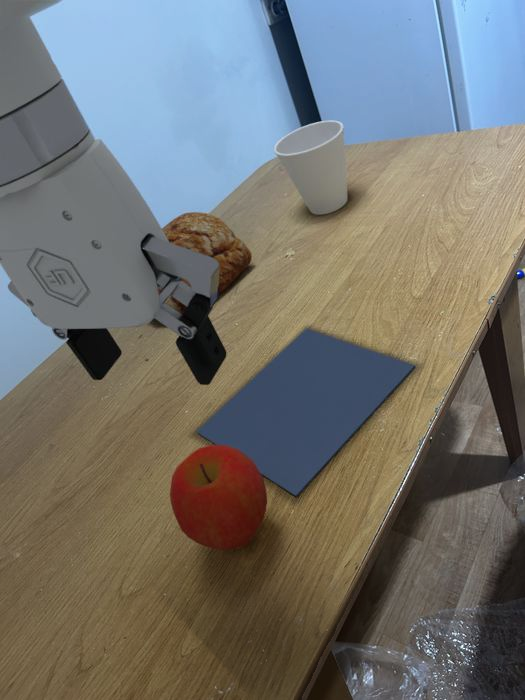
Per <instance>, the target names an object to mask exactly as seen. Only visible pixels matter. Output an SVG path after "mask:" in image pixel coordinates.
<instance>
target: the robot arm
mask: <svg viewBox="0 0 525 700" xmlns="http://www.w3.org/2000/svg"><path fill="white" fill-rule="evenodd" d="M62 1H63V0H0V266H1V267H2V268H3V271H4V272H5V273H6V276H7V277H8V278H9V280H10V281H9V283H8V284H7V288H8V290H9V292H10V293H11V294H12V295H13V296H15V297H16V298H17V299H18V300H19V301H21V302H22V303H23V304H24V305H26V306H27V308H29V309H30V311H31V314H32V315H33V316H34V317H35V318H37V320H39V321H40V323H41V324H43V325H44V326H46V327H49V328H51V332H52V333H53V335H54V336H55V337H56V338H58V339H59V340H63V341H66V342H65V343H66V345H67V346H68V348H69V349H70V350H71V352H72V353H73V354H74V356H75V357H76V358H77V359H78V361H79V363H80V364H81V366H82V367H83V368H84V369H85V371H86V372H87V373H88V375H89V377H90V378H91V379H92V380H93V381H102V380H103V379H104V378H105V377H106V376H107V374H108V373H109V371H110V370H111V369H112V368H113V367H114V365H115V364H116V363H117V361H118V360H119V359H120V357H121V356H122V354H123V352H122V349H121V348H120V346H119V345H118V343H117V342H116V340H115V339H114V337H113V336H112V334H111V333H110V330H108V329H130V328H141V327H144V326H147V325H148V324H150V323H151V322H152V321H153V320H154V319H155V320H156V321H157V322H159V323H160V324H162V325H164V326H165V327H166V328H168V329H169V330H171V331H172V332H173V333H175V334H176V335H178V337H177V338H176V340H175V345H176V347H177V350H179V352H180V354H181V357H182V358H183V359H184V361H185V363H186V364H187V366H188V368H189V370H190V371H191V373H192V375H193V377H194V378H195V380H196V382H197V383H198V384H199V385H200V386H208V385H211V383H212V381H213V380H214V378H215V376H216V375H217V373H218V371H219V369H220V368H221V366H222V365H223V363H224V361H225V360H226V358H227V350H226V348H225V346H224V344H223V342H222V339H220V336H219V334H218V332H217V330H216V328H215V327H214V324H213V323H212V322H213V321H212V320H211V319H210V317H209V315H210V314H211V312H212V310H213V308H214V305H215V303H216V302H217V300H218V298H219V296H220V293H221V292H220V291H219V288H218V286H219V270H220V266H219V263H218V261H217V260H216V259H214V258H212V257H210V256H207V255H204V254H201V253H198V252H195V251H192V250H189V249H186V248H184V247H181V246H178V245H175V244H172V243H169V241H168V239H167V237H166V236H165V234H164V232H163V230H162V228H163V227H161V224H160V223H159V221H158V220H157V217H156V216H155V214H154V213H153V211H152V210H151V207H150V206H149V204H148V203H147V201H146V199H144V197H143V195H142V194H141V192H140V191H139V189H138V187H137V186H136V185H135V183H134V182H133V180H132V179H131V177H130V176H129V174H128V173H127V172H126V170H125V169H124V167H123V166H122V164H121V163H120V162H119V160H118V159H117V158H116V157H115V155H114V154H113V152H111V150H110V149H109V147H107V145H106V144H105V142H103V140H102V139H101V138H98V139H95V136H94V134H93V132H92V130H91V129H90V127H89V124H88V123H87V121H86V118H85V117H84V115H83V113H82V112H81V110H80V108H79V106H78V104H77V102H76V100H75V98H74V97H73V95H72V93H71V91H70V89H69V87H68V85H67V84H66V82H65V80H64V79H63V77H62V74H61V72H60V70H59V69H58V66H57V65H56V64H55V63H54V61H53V59H52V56H51V54H50V52H49V50H48V48H47V46H46V44H45V42H44V41H43V39H42V37H41V34H40V33H39V31H38V29H37V27H36V25H35V24H34V22H33V20H32V18H31V17H32V16H35V15H37V14H39V13H41V12H42V11H45V10H47V9H49V8H51V7H53V6H55V5H56V4H57V5H58V4H59V3H60V2H62ZM183 279H185V280H186V281H188V282H189V284H190V285H191V287H190V286H188V285H187V284H186V283H184V282H183V281H182V280H183ZM158 289H162V290H161V291H160V293H158ZM171 295H172V297H174V298H175V299H177V300H178V301H179V302H181V303H182V304H184V305H185V306H187V308H186V310H185V313H184V314H180V313H179V312H177V311H176V310H174V309H173V308H171V307H170V306H169V305H167V304H166V302H167V301H168V299H169V298H170V297H171Z"/></svg>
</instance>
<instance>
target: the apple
mask: <svg viewBox="0 0 525 700" xmlns="http://www.w3.org/2000/svg"><path fill="white" fill-rule="evenodd" d="M169 489H170V490H169V498H170V499H169V500H170V505H171V508H172V513H173V515H174V517H175V519H176V522H177V523H178V526H179V528H180V531H182V532H183V534H185V536H186V537H187V538H188V539H190V540H191V541H193V542H195V543H196V544H199V545H201V546H203V547H205V548H210V549H211V548H212V549H216V550H222V551H226V550H235V549H238V548H242V547H244V546H246V545H247V544H248V543H249V542H250V541H251V540H252V539H253V538H254V537H255V535H256V533H257V532H258V530H259V527H260V526H261V524H262V522H263V520H264V517H265V515H266V510H267V505H268V493H267V489H266V483H265V479H264V476H263V475H261V473H260V472H259V470H258V468H257V467H256V465H255V463H254V461H253V460H251V459H250V458H249V457H247V456H246V455H245V454H243V453H242V452H241V451H239V450H238V449H236V448H233V447H230V446H226V445H215V444H209V445H205V446H202V447H199V448H197V449H196V450H194V451H193V452H191V453H190V454H188V456H186V458H184V460H182V461H181V463H179V464H178V465H177V466H176V468H175V470H174V472H173V474H172V476H171V481H170V488H169Z"/></svg>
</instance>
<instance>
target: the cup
mask: <svg viewBox="0 0 525 700" xmlns="http://www.w3.org/2000/svg"><path fill="white" fill-rule="evenodd" d="M344 129H345V127H344V124H343V123H342V122H341V121H339V120H330V119H329V120H321V121H317V122H313V123H309V124H307V125H304V126H301V127H299V128H296V129H295V130H293V131H291V132H289V133H287V134H286V135H284V136H283V137H282V138H280V139H279V140H278V141H277V142H276V143H275V145H274V147H273V152H274V154H275V155H276V156H277V158H278V160H279V161H280V163H281V165H282V166H283V168H284V169H285V171H286V173H287V175H288V177H289V178H290V180H291V182H292V183H293V185H294V187H295V188H296V190H297V192H298V193H299V195H300V197H301V198H302V201H304V203H305V205H306V206H307V209H308V210H309V212H310V213H311V214H313V215H321V216H322V215H326V214H331V213H333V212H335V211H338V210H339V209H341V208H342V207H344V206H345V205H346V204H347V203H348V184H347V183H348V182H347V167H346V151H345V149H346V148H345V134H344Z"/></svg>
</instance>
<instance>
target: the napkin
mask: <svg viewBox="0 0 525 700" xmlns="http://www.w3.org/2000/svg"><path fill="white" fill-rule="evenodd" d="M415 368H416V365H415V364H412V363H410V362H408V361H404V360H400V359H398V358H395V357H392V356H389V355H387V354H383V353H381V352H377V351H374V350H372V349H368V348H365V347H363V346H359V345H357V344H354V343H350V342H348V341H345V340H342V339H340V338H336V337H335V336H334V337H333V336H331V335H327V334H325V333H323V332H319V331H315V330H313V329H310V328H307V327H306V328H305V329H304V330H303V331H302V332H300V334H299V335H297V337H295V338H294V339H293V340H292V341H291V342H290V343H289V344H288V345H287V346H285V348H283V350H281V351H280V352H279V353H278V354H277V355H276V356H275V357H274V358H273V359H272V360H271V361H269V363H268V364H266V366H264V367H263V368H262V369H261V370H260V371H259V372H258V373H257V374H256V375H255V376H253V378H252V379H251V380H249V381H248V382H247V383H246V384H245V385H244V386H243V387H242V388H241V389H240V390H239V391H238V392H236V394H235V395H233V396H232V397H231V398H230V399H229V400H228V401H226V403H225V404H223V406H221V407H220V409H218V410H217V411H216V412H215V413H214V414H213V415H212V416H211V417H210V418H209V419H208V420H207V421H206V422H204V423H203V425H201V426H200V427H199V428H198V429H197V430H196V434H198V435H199V436H200V437H202V438H204V439H206V440H207V441H209V442H210V443H212V445H226V446H230V447H233V448H236V449H238V450H239V451H241V452H242V453H243V454H245V455H246V456H247V457H249V458H250V459H251V460H253V461H254V463H255V465H256V467H257V468H258V470H259V472H260V473H261V475H262V477H263V478H265V479H267V480H269V481H270V482H272V483H273V484H275V485H277V486H278V487H280V488H281V489H283V490H284V491H286V492H287V493H289V495H292V496H293V497H295V498H297V497H299V495H301V494H302V492H303V491H304V490H305V489H306V488H307V487H308V486H309V484H311V482H312V481H313V480H314V479H315V478H316V477H317V476H318V475H319V474H320V473H321V472H322V470H324V468H325V467H326V466H327V465H328V464H329V463H330V462H331V460H333V458H334V457H335V456H336V455H337V454H338V453H339V452H340V451H341V450H342V448H343V447H344V446H345V445H346V444H347V443H348V442H349V441H350V440H351V439H352V438H353V437H354V435H355V434H356V433H357V432H358V431H359V430H360V429H361V427H363V425H364V424H365V423H366V422H367V421H368V420H369V419H370V418H371V416H372V415H373V414H374V413H375V412H376V411H377V410H378V409H379V408H380V407H381V406H382V405H383V403H384V402H385V401H386V400H387V399H388V398H389V397H390V396H391V395H392V394H393V393H394V392H395V390H396V389H397V388H398V387H399V386H400V385H401V384H402V382H403V381H404V380H405V379H406V378H407V377H408V376H409V375H410V374H412V372H413V370H414V369H415Z"/></svg>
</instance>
